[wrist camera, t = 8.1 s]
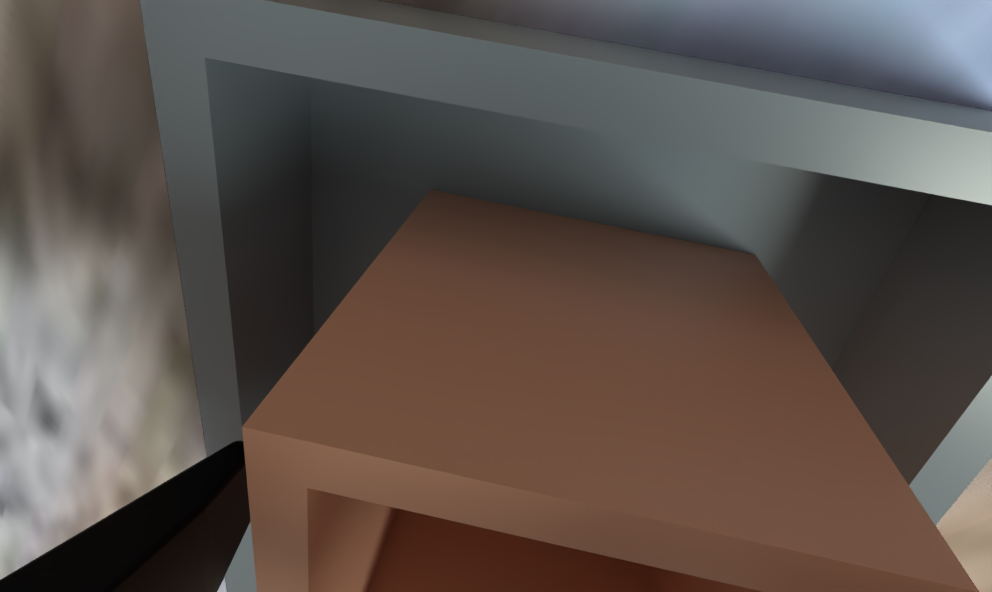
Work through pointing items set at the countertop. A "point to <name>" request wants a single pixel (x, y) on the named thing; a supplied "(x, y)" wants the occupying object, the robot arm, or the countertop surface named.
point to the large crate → (568, 193)
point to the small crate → (572, 427)
